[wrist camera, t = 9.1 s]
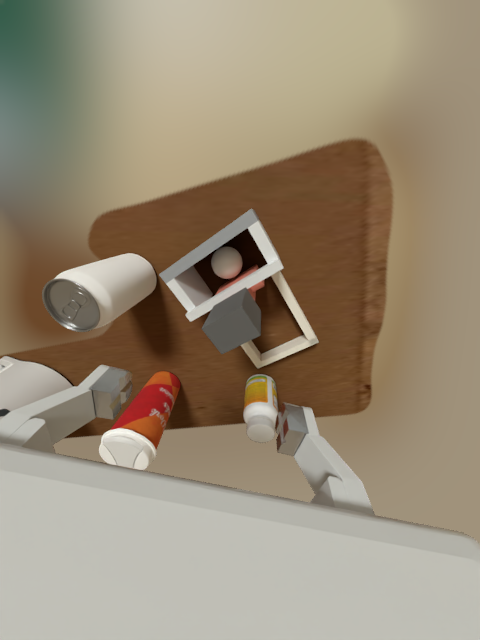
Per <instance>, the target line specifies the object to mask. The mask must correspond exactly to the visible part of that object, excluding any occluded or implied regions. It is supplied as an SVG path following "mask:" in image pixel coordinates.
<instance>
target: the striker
mask: <svg viewBox="0 0 480 640" xmlns="http://www.w3.org/2000/svg"><path fill="white" fill-rule="evenodd" d="M258 269H259V267H258V265H257V264H256V265H254V266H252V267H251V268H249V269H247V270H246V271H244V272H242V273H241V274H239V275H238V276H236V277H234V278H233V279H231V280H229V281H228V282H226V283H224V284H223V285H221V286H220V288H219V289H218V291H217V293H216V294H218V293H220V292H221V291H223V290H225V289H226V288H228V287H230V286H231V285H233V284H235V283H236V282H238V281H240V280H241V279H243V278H245V277H246V276H248V275H250V274H251V273H253V272H255V271H256V270H258ZM262 287H264V280H262V281H261V282H259V283H257V284H255V285H254V286H252V287H250V288H248V289H247V288H246V287H245V288H243V289H242V290H240V291H238V292H237V293H235V294H233V295H231V296H230V297H228V298H226V299H225V300H223V301H221V302H219V303H218V304H216V305H214V306H213V308H212V310H211V312H210V314H209V316H208V318H207V319H206V321H205V323H204V325H203V327H202V330H203V331H204V332H205V334H206V335H207V336H208V337H209V339H210V340H211V341H212V343H213V344H214V345H215V346H216V348H217V349H218V350H219V352H220V353H221V354H223V353H225V352H228V351H230V350H232V349H234V348H236V347H238V346H240V345H242V344H244V343H246V342H248V341H250V340H252V339H254V338H256V337H258V336H260V335H261V310H260V308H259V307H258V305H257V304H256V302H255V297H256V290H258V289H260V288H262ZM216 294H215V295H216Z"/></svg>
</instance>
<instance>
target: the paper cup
mask: <svg viewBox="0 0 480 640" xmlns="http://www.w3.org/2000/svg"><path fill="white" fill-rule="evenodd" d="M179 389H180V381H179V379H178V378H177V377H176V376H175V375H174V374H172V373H170V372H167V371H159V372H157V373H155V374H154V375H153V376H152V377H151V379H150V380H149V381H148V382H147V384H146V385H145V386H144V387H143V389H142V390H141V391H140V392H139V394H138V395H137V396H136V397H135V399H134V400H133V401H132V403H131V404H130V405H129V406H128V408H127V409H126V410H125V412H124V413H123V414H122V415H121V417H120V418H119V419H118V420H117V422H116V423H115V424H114V426H113V427H112V428H111V429H110V430H109V431H107V432H106V433H104V435H103V436H102V439H101V445H100V446H99V454H100V456H101V457H102V458H103V460H104V461H105V462H107V463H108V464H112V465H117V466H123V467H128V468H134V469H138V470H144V469H145V468H146V467H148V465H149V464H150V463H151V462H152V461H153V460H154V459H155V457H156V453H157V452H156V449H157V446H158V444H159V441H160V439H161V436H162V434H163V431H164V429H165V426H166V423H167V421H168V418H169V416H170V413H171V411H172V408H173V405H174V403H175V400H176V398H177V395H178V392H179Z"/></svg>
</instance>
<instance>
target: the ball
mask: <svg viewBox="0 0 480 640" xmlns="http://www.w3.org/2000/svg"><path fill="white" fill-rule="evenodd" d="M211 265H212V269H213V271H214V272H215V274H216V275H218V276H219V277H221V278H224V279H230V278H233V277H235V276H237V275H238V274H239V272H240V271H241V269H242V257H241V255H240V253H239V252H238V251H237V250H236V249H234V248H232V247H221V248H219V249H218V250H216V251H215V253H214V254H213V256H212V260H211Z"/></svg>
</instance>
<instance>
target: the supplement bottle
mask: <svg viewBox="0 0 480 640" xmlns="http://www.w3.org/2000/svg"><path fill="white" fill-rule="evenodd" d="M277 415H278V406H277V393H276V384H275V382H274V380H273V379H272V378H271V377H269V376H267V375H264V374H257V375H253V376H252V377H250V378H249V379H248V380H247V383H246V390H245V401H244V412H243V417H244V421H245V422H246V424H247V436H248V437H249V438H250V439H251V440H252V441H255V442H259V443H265V442H268V441H271V440H272V439H273V438H274V435H275V427H274V426H275V423H276V417H277Z"/></svg>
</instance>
